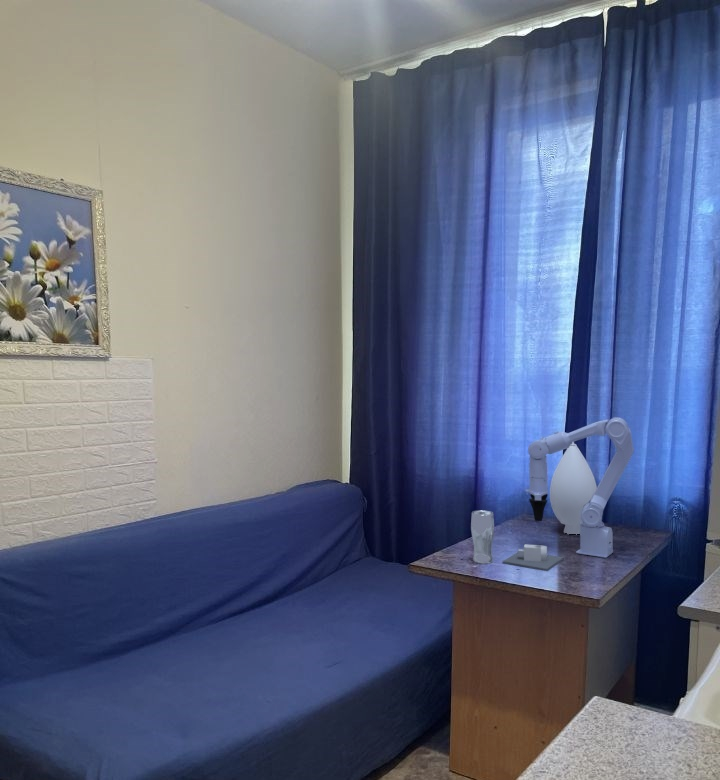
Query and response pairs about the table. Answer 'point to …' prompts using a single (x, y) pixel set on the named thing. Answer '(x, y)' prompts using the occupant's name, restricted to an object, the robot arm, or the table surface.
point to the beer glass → (482, 536)
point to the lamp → (571, 489)
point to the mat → (533, 562)
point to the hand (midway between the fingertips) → (538, 518)
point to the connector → (534, 552)
